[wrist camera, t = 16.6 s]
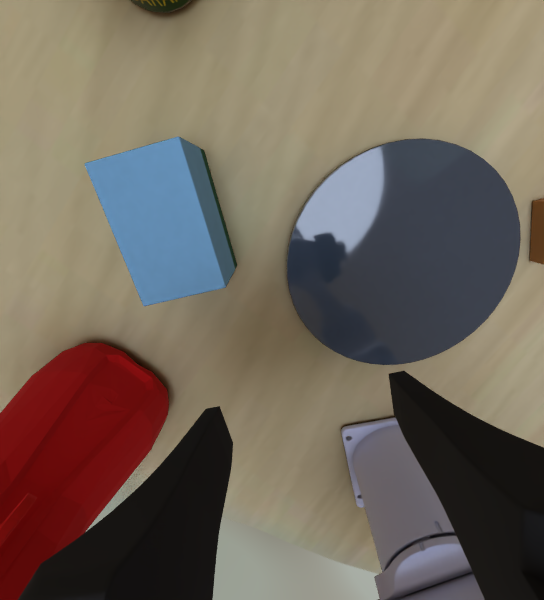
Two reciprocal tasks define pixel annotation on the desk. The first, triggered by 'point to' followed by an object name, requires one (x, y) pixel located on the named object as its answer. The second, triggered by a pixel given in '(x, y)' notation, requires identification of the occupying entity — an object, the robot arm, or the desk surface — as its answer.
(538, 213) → the orange cardboard box
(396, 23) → the desk surface
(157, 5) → the beer can
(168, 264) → the sponge
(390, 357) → the plate
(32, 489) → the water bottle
